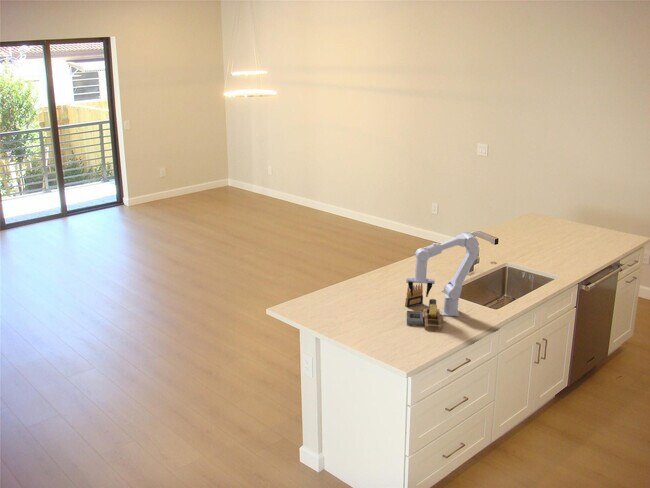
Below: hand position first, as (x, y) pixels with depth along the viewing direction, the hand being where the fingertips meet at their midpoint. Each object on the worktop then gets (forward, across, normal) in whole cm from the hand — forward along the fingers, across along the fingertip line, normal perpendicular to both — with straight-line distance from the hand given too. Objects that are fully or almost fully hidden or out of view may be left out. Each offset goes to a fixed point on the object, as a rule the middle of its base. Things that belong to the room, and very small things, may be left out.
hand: (419, 295), depth 371 cm
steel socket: (+10, -2, -8) cm, 13 cm away
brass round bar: (+10, +7, -8) cm, 15 cm away
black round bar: (+10, +7, -1) cm, 13 cm away
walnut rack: (+10, +7, -8) cm, 15 cm away
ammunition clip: (+11, -2, +12) cm, 16 cm away
